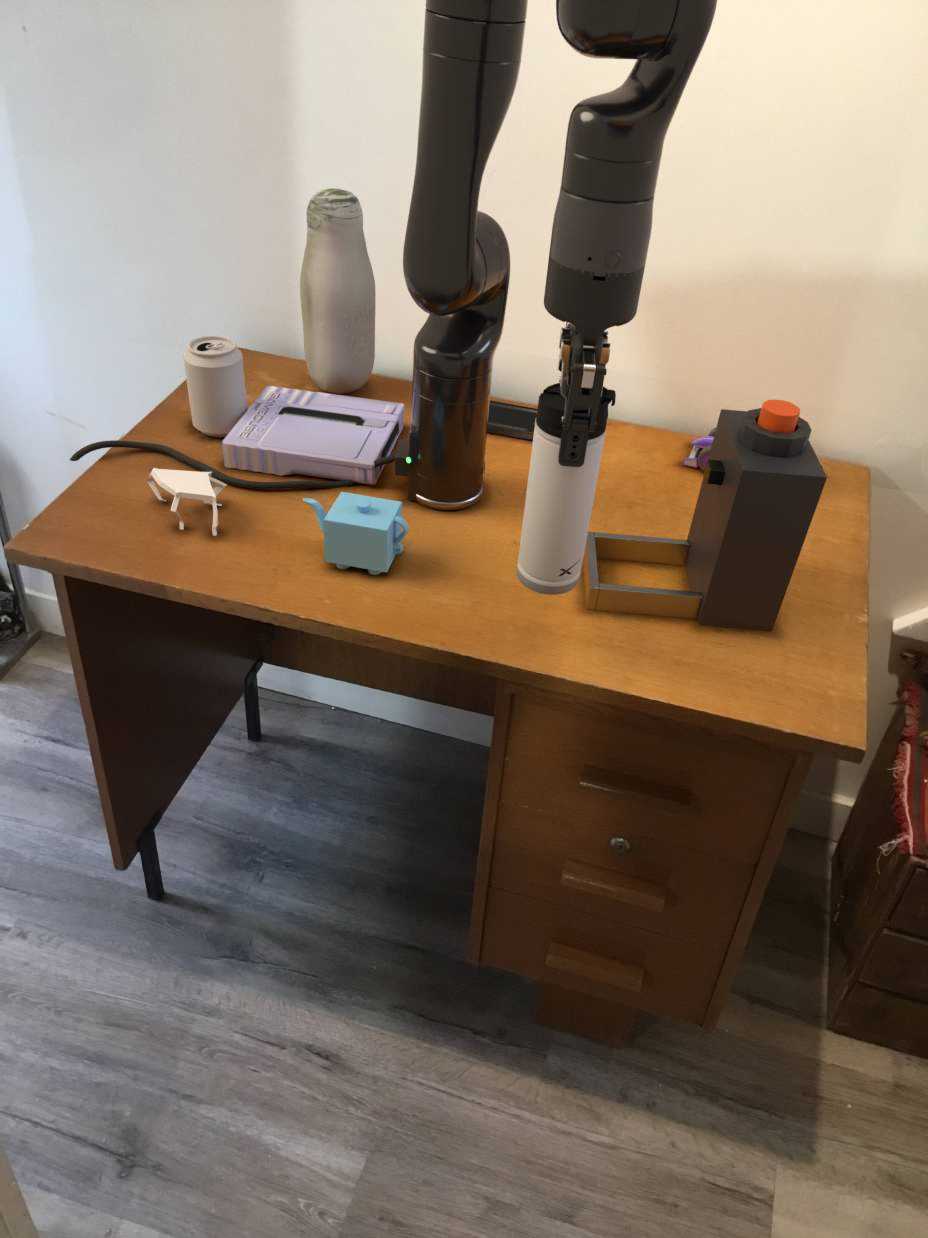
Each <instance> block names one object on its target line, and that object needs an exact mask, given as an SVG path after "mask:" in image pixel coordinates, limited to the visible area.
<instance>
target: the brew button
mask: <svg viewBox="0 0 928 1238" xmlns="http://www.w3.org/2000/svg"><path fill="white" fill-rule="evenodd" d="M761 408H762V409H761V412H760V415H759V419H758V422H757V423H758V425H760V426H761V427H763V428H764V429H766V430H770V431H773V432H777V433H791V432H794V430H795V427H796V424H797V421H798V418H799V417H800V415H801V409H800V407H799V406H798V405H796V404H795V403H792V402H790V401H787V400H784V399H783V400H782V399H767V400H765V401H764V402H763V403H762V406H761Z"/></svg>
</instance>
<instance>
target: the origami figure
mask: <svg viewBox="0 0 928 1238" xmlns="http://www.w3.org/2000/svg"><path fill="white" fill-rule="evenodd" d="M211 474H212V472H204V471H195V470H194V471H193V470H182V469H181V470H180V469H179V470H178V469H167V468H166V469H165V468H156V467H153V468H152V470H151V472H150V473H149V476H148V478H147V480H146V482H147V484H148V485H149V487H150V489H151V490H152V492H153V493H154V494H155V496H156V498H157V499H158V501H161V502H164V503H165V502H166V503H167V499H163V497H162V495H161V492H160V491H159V489H158V487H157V486H156V484H157V485H158V486H159V487H160V488H161V489H163V490H164V491H166V492H168V493H170V494H171V495H172V496H174V497H173V501H172V504H171V506H170V512H171V513H172V514H173V515H174V517H176V519H177V520H178V521H179V530H182V531H184V529H185V528H184V527H185V523H184V522H185V521H184V520H183V518H182V517H181V516H180V514H179V512H178V511H177V509H178V506H179V503H180V499H188V500H195V501H203V502H202V504H205V505H210V506H212V524H211V532H212V536H215V537H216V536H217V535H218V531H217V527H218V526H219V510H218V507H221V506H222V505H223V504H222V503H217V496H218V495H219V494H220V493H221V492H222V490H225V488H226V487H227V486H228V483H226V482H223V481H221V480H219V479H217V478H215V477H213V476H211ZM154 481H155V482H156V483H155V482H154ZM213 486H215V487H214V488H213Z"/></svg>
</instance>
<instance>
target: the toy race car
mask: <svg viewBox="0 0 928 1238" xmlns="http://www.w3.org/2000/svg"><path fill="white" fill-rule="evenodd" d="M715 431H716V427H714V428H712V429H711V430H710V431H709V432H708V435H707V436H703V437H700V438H693V439H692V442H691V446H692V449H691V452H690V453H689V455H688V457H684V458H683V462H682V465H683V466H686V467H690V468H695V469H696V468H697V469H698V467H699V469H700V470H701V471H702V472H704V470H705V467H706V463H707V460H708V458H709V454H710V450H711V446H712V442H713V438H714V435H715ZM700 449H701V451H700V453H699V450H700ZM698 453H699V455H698V457H696V456H697V454H698Z"/></svg>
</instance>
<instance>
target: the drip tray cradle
mask: <svg viewBox="0 0 928 1238" xmlns="http://www.w3.org/2000/svg"><path fill="white" fill-rule="evenodd" d="M704 474H705V477H706V481H707V484H715V485H722V482H723V478H724V475H725V470H724V467H723V464H722V461H721V460H710V459H708V460H707V463H706V467H705V470H704V471H703V475H704ZM689 547H690V543H689V540H687V539H681V538H680V539H679V538H678V539H677V538H668V537H667V538H666V537H657V536H656V537H655V536H643V535H632V534H621V533H611V532H610V533H609V532H597V531H588V535H587V540H586V546H585V551H584V557H583V563H582V571H583V582H584V583H583V584H584V595H585V596H584V598H585V599H584V600H585V609H586V610H588V611H598V612H599V611H600V612H609V613H610V612H612V613H622V614H624V613H625V614H632V615H633V614H634V615H645V616H654V617H655V616H656V617H668V618H679V619H680V618H681V619H690V620H697V615H698V612H699V608H700V605H701V601H702V598H703V597H702V593H701V592H693V591H690V590H680V589H671V588H669V589H668V588H658V587H646V586H636V585H623V584H613V583H612V584H611V583H601V582H600V581H599V580H600V579H599V568H598V559H603V560H614V561H627V562H636V563H638V562H639V563H650V564H659V565H661V564H662V565H673V566H683V567H685V562H686V558H687V555H688V551H689Z"/></svg>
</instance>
